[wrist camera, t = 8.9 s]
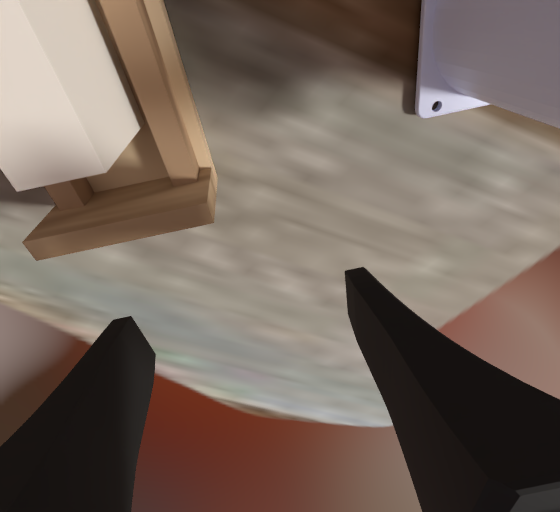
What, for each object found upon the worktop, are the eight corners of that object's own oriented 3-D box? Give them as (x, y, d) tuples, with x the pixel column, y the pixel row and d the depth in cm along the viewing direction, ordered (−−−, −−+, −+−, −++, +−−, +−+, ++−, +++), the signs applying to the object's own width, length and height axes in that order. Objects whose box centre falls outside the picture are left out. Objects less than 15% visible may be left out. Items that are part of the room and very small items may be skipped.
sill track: (-105, -93, 12) (-279, -147, 8) (119, -143, 12) (60, -225, 8) (77, 207, 19) (36, 260, 15) (217, 177, 19) (213, 222, 15)
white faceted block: (60, -84, 12) (-60, -151, 7) (144, 123, 16) (106, 172, 11) (-31, -63, 12) (-215, -116, 7) (77, 138, 16) (9, 193, 11)
